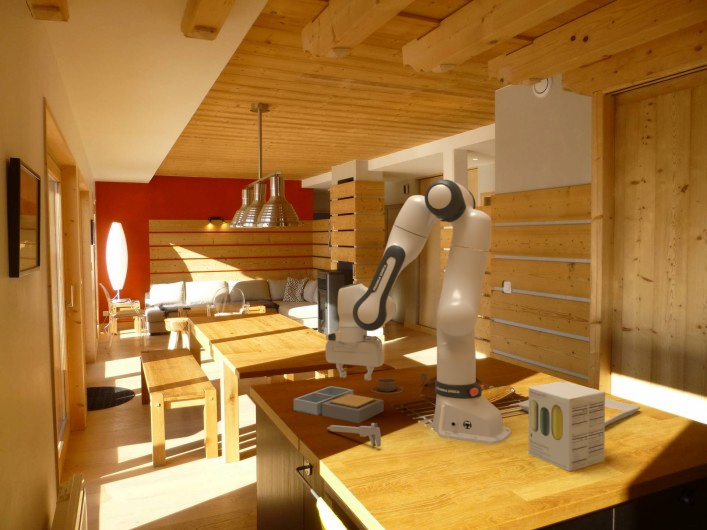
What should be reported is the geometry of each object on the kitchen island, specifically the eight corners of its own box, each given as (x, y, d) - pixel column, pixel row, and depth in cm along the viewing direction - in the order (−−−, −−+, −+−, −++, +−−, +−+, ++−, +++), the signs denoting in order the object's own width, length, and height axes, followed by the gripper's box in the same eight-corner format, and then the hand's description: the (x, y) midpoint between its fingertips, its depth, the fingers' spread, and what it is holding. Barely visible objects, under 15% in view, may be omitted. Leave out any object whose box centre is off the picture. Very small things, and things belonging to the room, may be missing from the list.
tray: (331, 397, 199) (330, 385, 199) (353, 401, 194) (353, 389, 193) (293, 411, 183) (293, 399, 182) (317, 416, 177) (316, 403, 177)
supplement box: (526, 454, 145) (526, 386, 144) (562, 445, 151) (562, 380, 150) (569, 472, 133) (569, 398, 132) (605, 461, 139) (606, 391, 139)
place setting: (375, 386, 216) (375, 371, 216) (428, 389, 211) (428, 373, 211) (366, 398, 199) (366, 382, 199) (423, 402, 194) (423, 385, 194)
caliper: (380, 447, 149) (381, 424, 148) (378, 448, 148) (378, 425, 148) (329, 428, 163) (329, 407, 163) (326, 429, 163) (326, 408, 162)
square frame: (383, 412, 181) (383, 400, 181) (358, 424, 169) (358, 410, 169) (347, 405, 189) (347, 393, 189) (322, 416, 177) (321, 403, 177)
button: (374, 411, 180) (374, 398, 180) (357, 419, 172) (357, 406, 172) (349, 406, 186) (349, 394, 186) (330, 413, 178) (330, 401, 178)
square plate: (601, 436, 158) (601, 422, 158) (515, 414, 179) (515, 402, 179) (641, 416, 176) (641, 404, 176) (559, 398, 197) (559, 387, 197)
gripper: (386, 334, 174) (388, 379, 175) (333, 332, 186) (335, 373, 186) (375, 338, 169) (378, 384, 170) (321, 335, 181) (323, 378, 181)
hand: (355, 378), depth 178 cm, fingers open, 8 cm apart
